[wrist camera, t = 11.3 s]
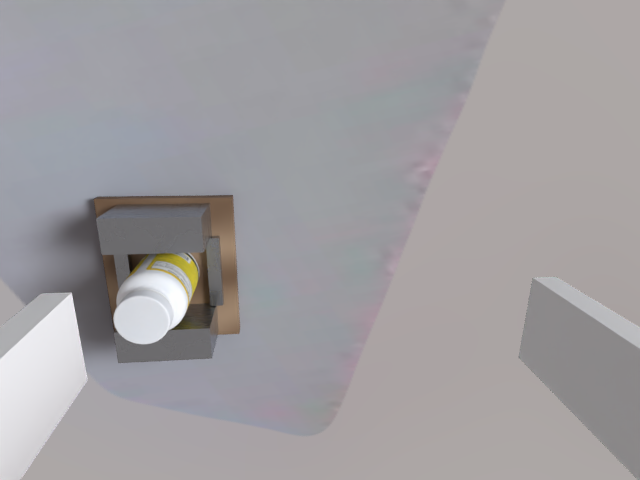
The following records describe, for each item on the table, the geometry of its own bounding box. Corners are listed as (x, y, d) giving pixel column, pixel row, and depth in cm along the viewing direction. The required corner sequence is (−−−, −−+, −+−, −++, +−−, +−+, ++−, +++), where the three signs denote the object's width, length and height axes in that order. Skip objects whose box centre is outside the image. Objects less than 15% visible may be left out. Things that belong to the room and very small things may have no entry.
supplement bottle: (153, 303, 41) (118, 361, 32) (132, 252, 39) (89, 297, 30) (208, 289, 41) (189, 342, 32) (190, 237, 39) (164, 277, 30)
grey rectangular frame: (109, 204, 38) (86, 218, 33) (217, 203, 39) (210, 216, 34) (128, 333, 42) (109, 363, 37) (225, 329, 43) (220, 357, 38)
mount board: (98, 196, 38) (93, 199, 37) (232, 195, 40) (231, 197, 39) (118, 333, 42) (115, 339, 42) (239, 328, 44) (239, 333, 43)
